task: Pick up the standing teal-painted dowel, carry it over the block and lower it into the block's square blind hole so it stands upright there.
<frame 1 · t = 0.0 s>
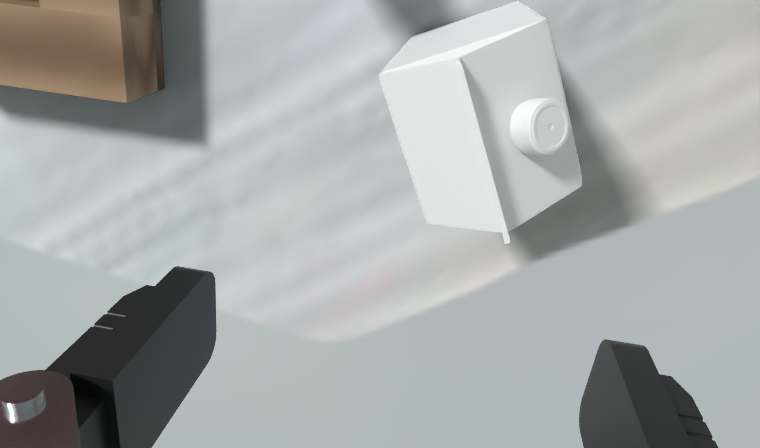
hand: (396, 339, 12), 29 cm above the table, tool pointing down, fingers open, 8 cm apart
milk carton: (477, 72, 38), on the table
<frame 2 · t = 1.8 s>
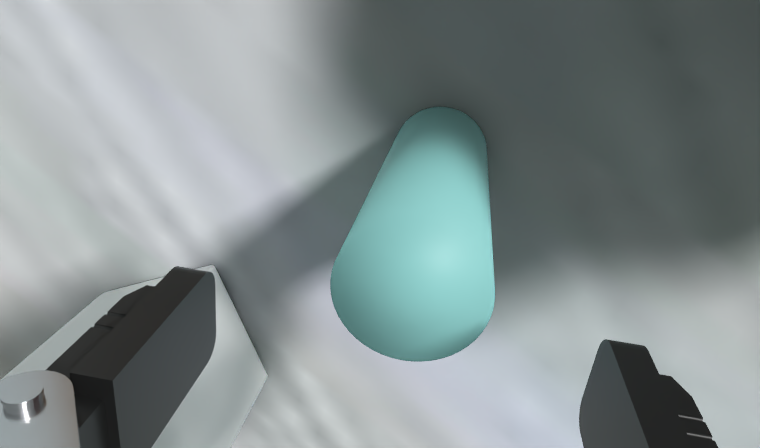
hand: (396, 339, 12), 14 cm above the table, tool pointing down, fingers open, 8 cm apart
dowel: (439, 152, 25), on the table
milk carton: (188, 331, 31), on the table
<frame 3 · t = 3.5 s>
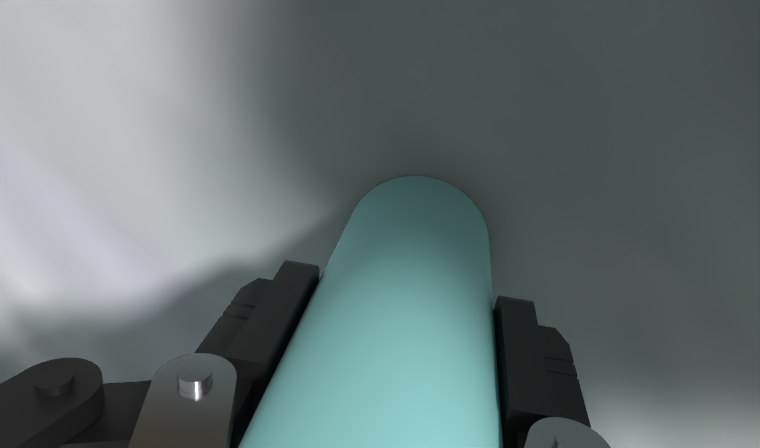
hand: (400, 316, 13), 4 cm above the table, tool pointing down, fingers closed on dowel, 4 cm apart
dowel: (416, 243, 16), on the table, touching gripper
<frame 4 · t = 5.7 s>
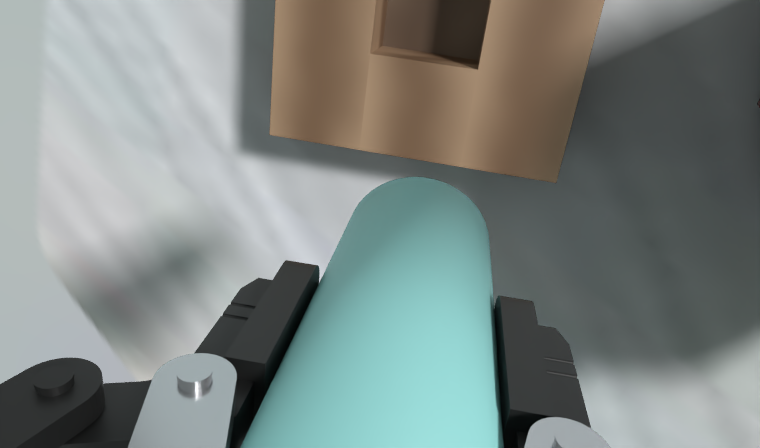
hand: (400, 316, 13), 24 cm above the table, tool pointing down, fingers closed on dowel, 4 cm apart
bore block: (439, 0, 33), on the table
dowel: (417, 244, 16), point 21 cm above the table, touching gripper
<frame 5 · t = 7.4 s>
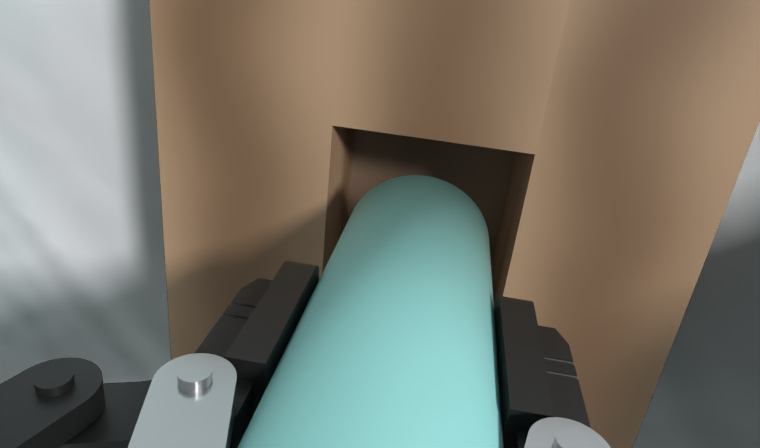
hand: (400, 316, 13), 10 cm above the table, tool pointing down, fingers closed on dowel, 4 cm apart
bore block: (429, 176, 21), on the table
dowel: (416, 242, 16), point 6 cm above the table, touching gripper
when the fingers open (6 cm above the table, at t = 8.4 s): dowel drops 2 cm, resting on bore block.
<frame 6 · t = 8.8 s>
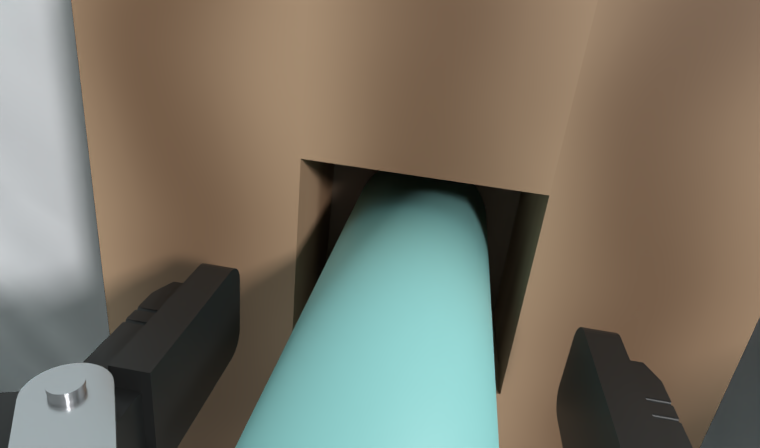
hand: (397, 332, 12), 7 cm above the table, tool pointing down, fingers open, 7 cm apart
bore block: (422, 207, 18), on the table
dowel: (420, 220, 18), point 1 cm above the table, touching bore block
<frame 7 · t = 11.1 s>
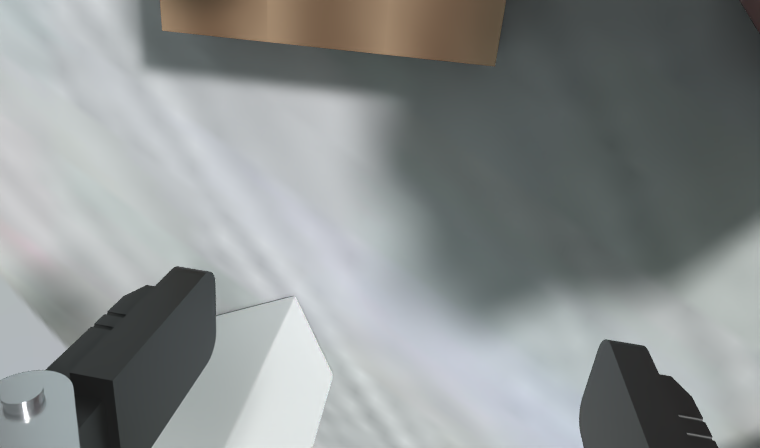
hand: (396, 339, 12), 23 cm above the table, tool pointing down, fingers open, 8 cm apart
milk carton: (272, 344, 41), on the table
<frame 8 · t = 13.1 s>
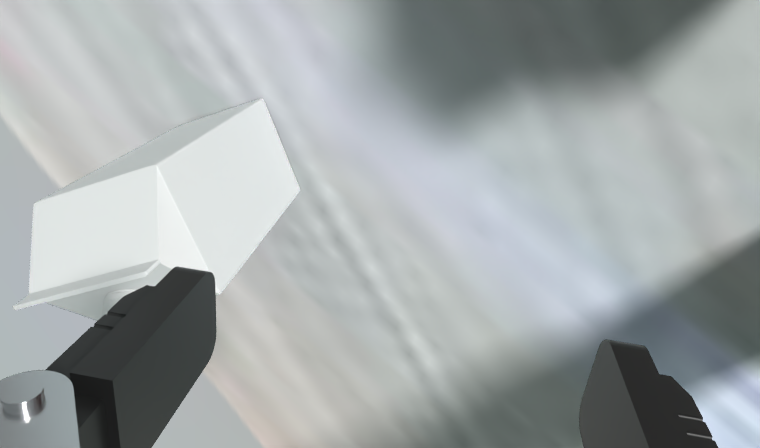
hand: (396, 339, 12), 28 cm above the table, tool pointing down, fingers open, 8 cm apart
milk carton: (241, 157, 42), on the table
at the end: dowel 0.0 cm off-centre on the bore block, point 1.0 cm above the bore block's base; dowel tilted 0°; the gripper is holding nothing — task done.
